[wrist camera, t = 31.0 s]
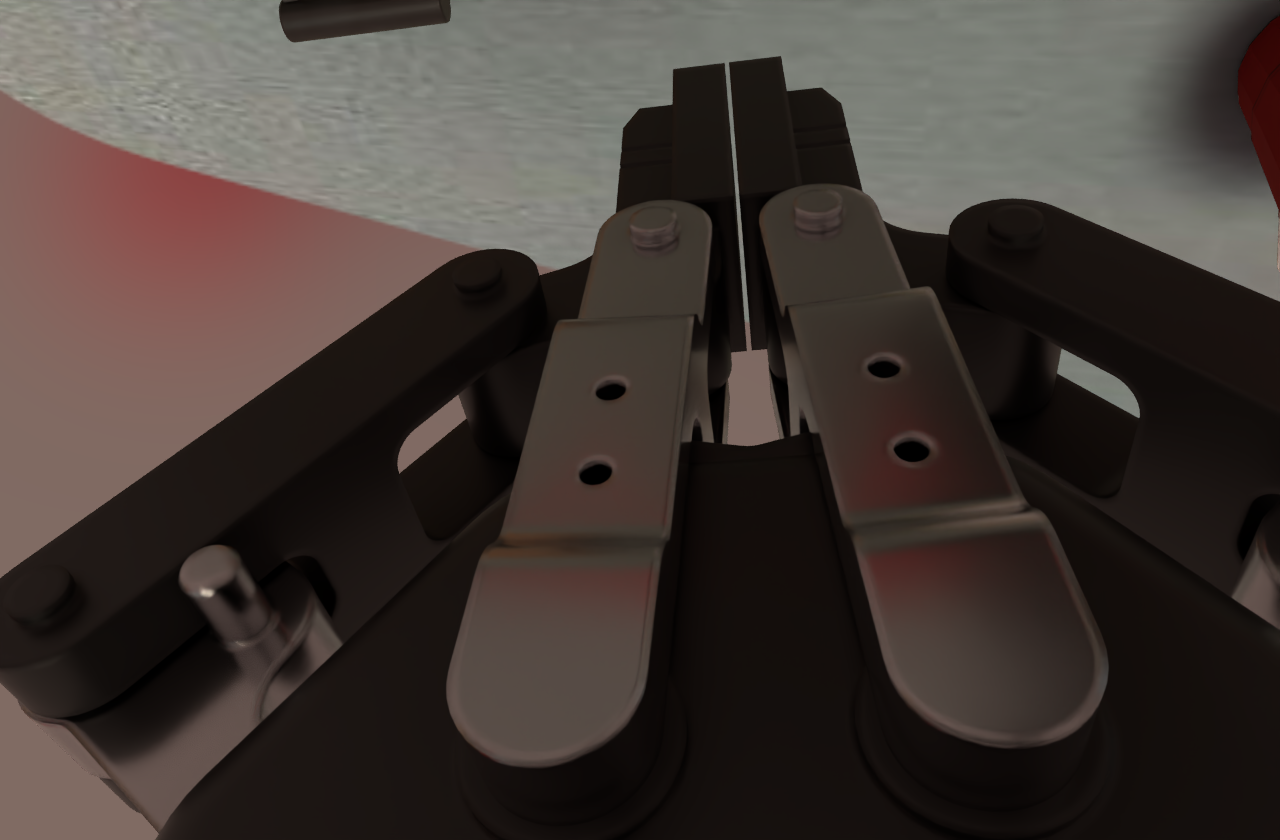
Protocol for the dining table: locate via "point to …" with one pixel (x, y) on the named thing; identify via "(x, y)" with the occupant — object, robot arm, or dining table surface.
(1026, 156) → the dining table surface
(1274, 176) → the plastic cup
